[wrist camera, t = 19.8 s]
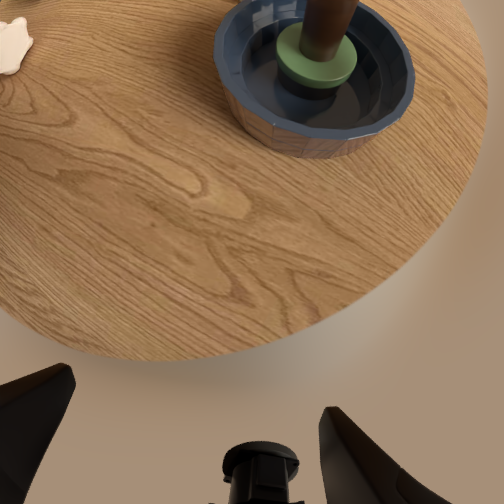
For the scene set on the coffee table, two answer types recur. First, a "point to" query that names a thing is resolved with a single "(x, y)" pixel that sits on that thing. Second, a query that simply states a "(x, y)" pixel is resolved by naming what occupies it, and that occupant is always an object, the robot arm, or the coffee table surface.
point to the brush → (317, 50)
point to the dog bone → (13, 45)
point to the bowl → (301, 110)
